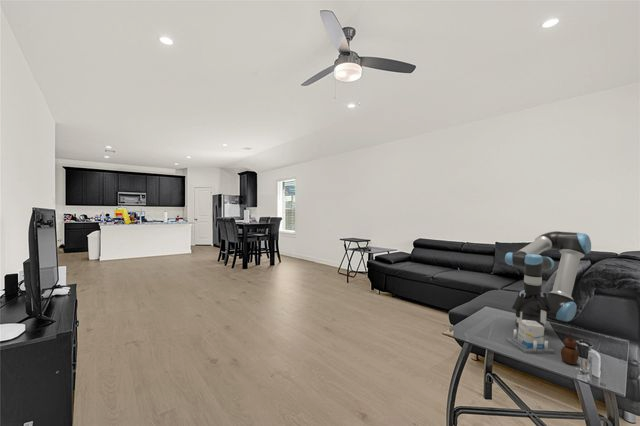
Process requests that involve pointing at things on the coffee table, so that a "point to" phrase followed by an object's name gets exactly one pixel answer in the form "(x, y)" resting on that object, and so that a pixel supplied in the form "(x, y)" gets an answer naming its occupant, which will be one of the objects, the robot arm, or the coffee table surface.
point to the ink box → (531, 333)
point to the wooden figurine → (569, 351)
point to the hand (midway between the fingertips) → (531, 323)
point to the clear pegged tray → (525, 349)
